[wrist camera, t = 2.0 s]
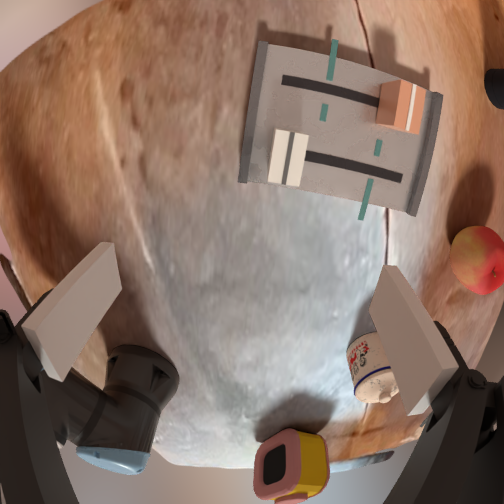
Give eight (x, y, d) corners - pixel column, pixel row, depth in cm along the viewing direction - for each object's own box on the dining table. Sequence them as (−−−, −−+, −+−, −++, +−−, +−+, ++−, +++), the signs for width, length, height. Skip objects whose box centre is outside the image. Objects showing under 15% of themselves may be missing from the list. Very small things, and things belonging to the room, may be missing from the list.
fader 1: (267, 171, 31) (267, 182, 26) (274, 127, 28) (276, 129, 24) (294, 176, 31) (299, 187, 26) (302, 132, 28) (309, 135, 24)
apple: (478, 205, 33) (519, 231, 24) (483, 254, 36) (516, 285, 27) (434, 230, 35) (470, 263, 26) (442, 278, 39) (471, 316, 30)
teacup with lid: (355, 328, 44) (372, 383, 33) (400, 331, 44) (422, 380, 33) (332, 374, 49) (341, 425, 39) (374, 374, 49) (387, 422, 39)
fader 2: (375, 123, 27) (394, 126, 23) (382, 83, 25) (402, 79, 20) (398, 130, 27) (419, 135, 23) (404, 91, 25) (427, 89, 20)
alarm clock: (293, 419, 57) (296, 493, 40) (328, 427, 59) (336, 494, 42) (253, 445, 65) (249, 506, 48) (285, 452, 67) (286, 509, 50)
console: (238, 193, 34) (235, 201, 31) (262, 31, 25) (261, 23, 22) (399, 222, 35) (410, 232, 32) (431, 80, 26) (445, 79, 23)
